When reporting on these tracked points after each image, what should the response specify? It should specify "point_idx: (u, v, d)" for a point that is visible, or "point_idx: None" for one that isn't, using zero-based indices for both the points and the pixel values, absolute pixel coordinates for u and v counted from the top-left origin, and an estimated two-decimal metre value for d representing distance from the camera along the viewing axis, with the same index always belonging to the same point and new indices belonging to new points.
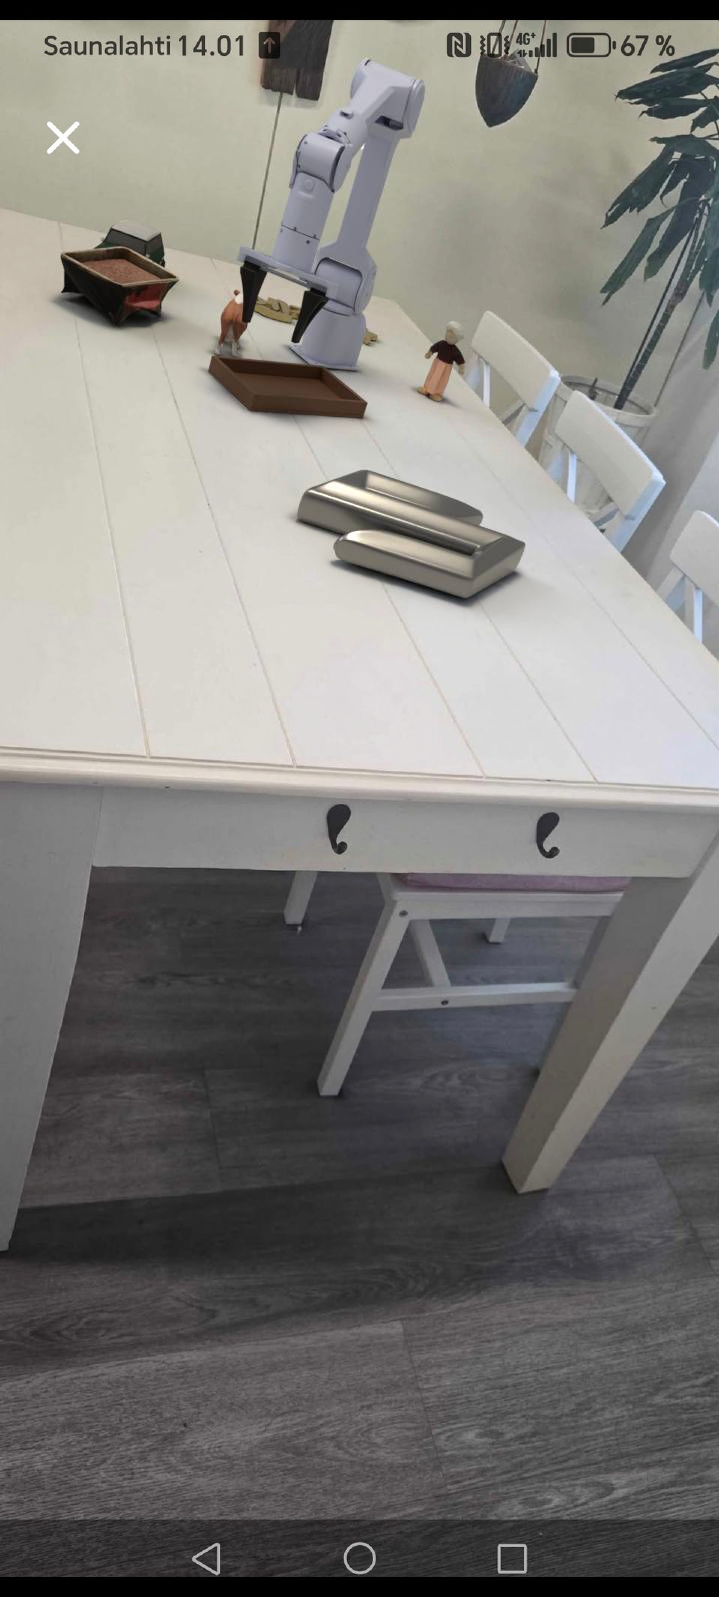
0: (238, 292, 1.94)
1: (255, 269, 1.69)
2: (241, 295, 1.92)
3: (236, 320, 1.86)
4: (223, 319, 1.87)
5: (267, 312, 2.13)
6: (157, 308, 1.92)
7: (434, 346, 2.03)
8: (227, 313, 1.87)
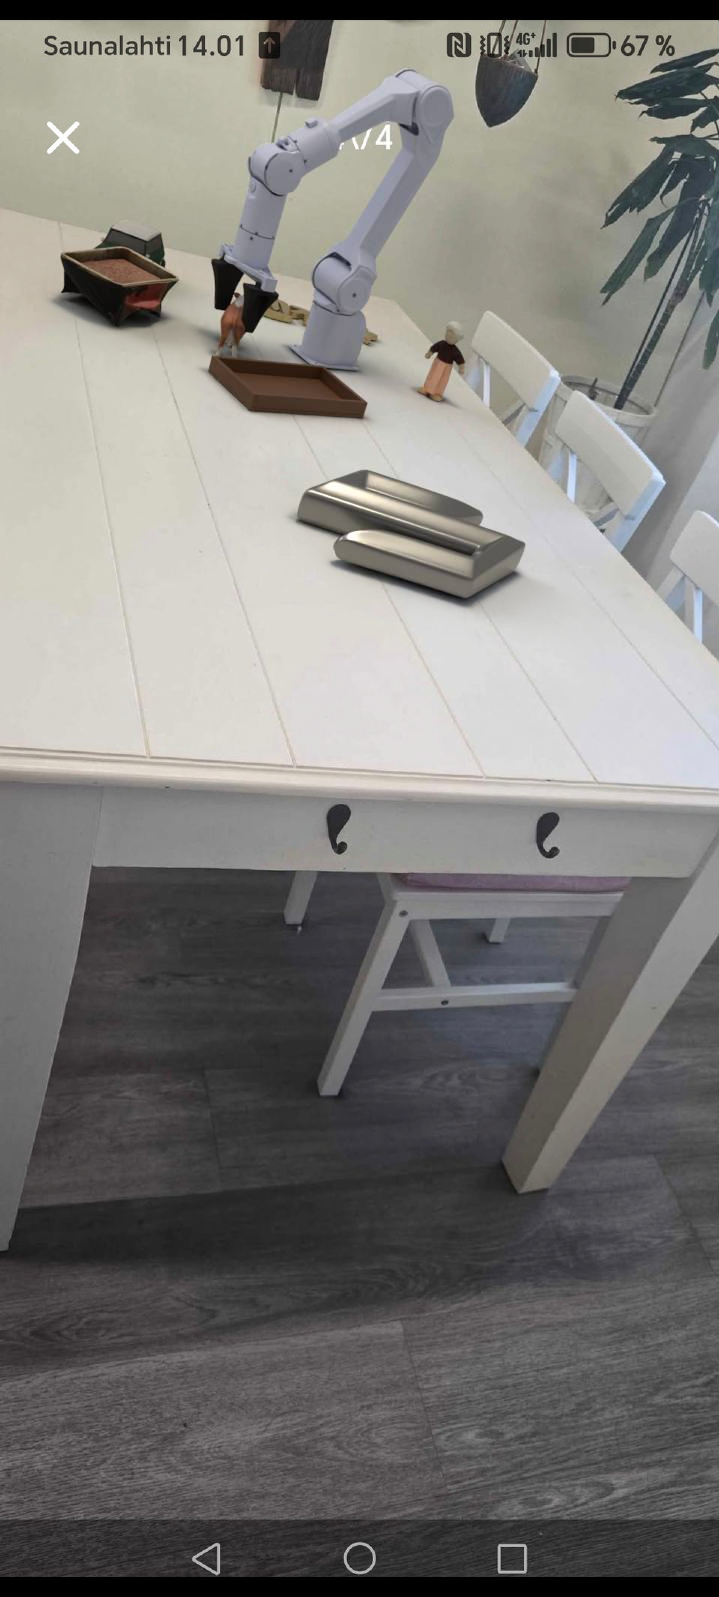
0: (238, 294, 1.95)
1: (225, 262, 1.90)
2: (241, 298, 1.92)
3: (236, 324, 1.86)
4: (223, 323, 1.87)
5: (267, 312, 2.13)
6: (157, 308, 1.92)
7: (434, 346, 2.03)
8: (227, 317, 1.87)
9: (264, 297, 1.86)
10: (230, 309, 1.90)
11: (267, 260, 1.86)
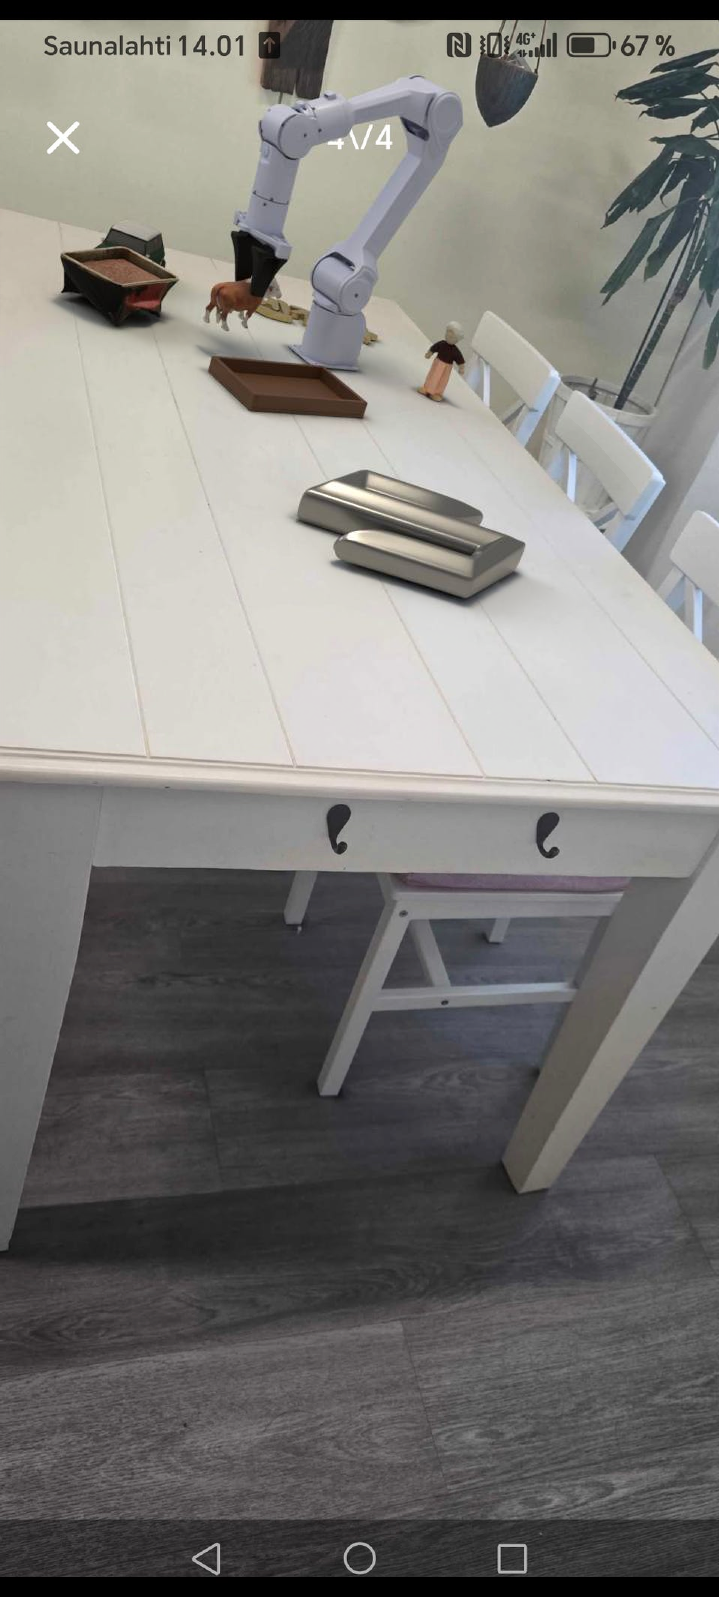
0: None
1: (245, 234, 1.85)
2: None
3: (219, 290, 1.83)
4: None
5: (267, 312, 2.13)
6: (157, 308, 1.91)
7: (434, 346, 2.03)
8: (219, 283, 1.84)
9: (273, 260, 1.84)
10: (236, 281, 1.87)
11: (281, 226, 1.82)
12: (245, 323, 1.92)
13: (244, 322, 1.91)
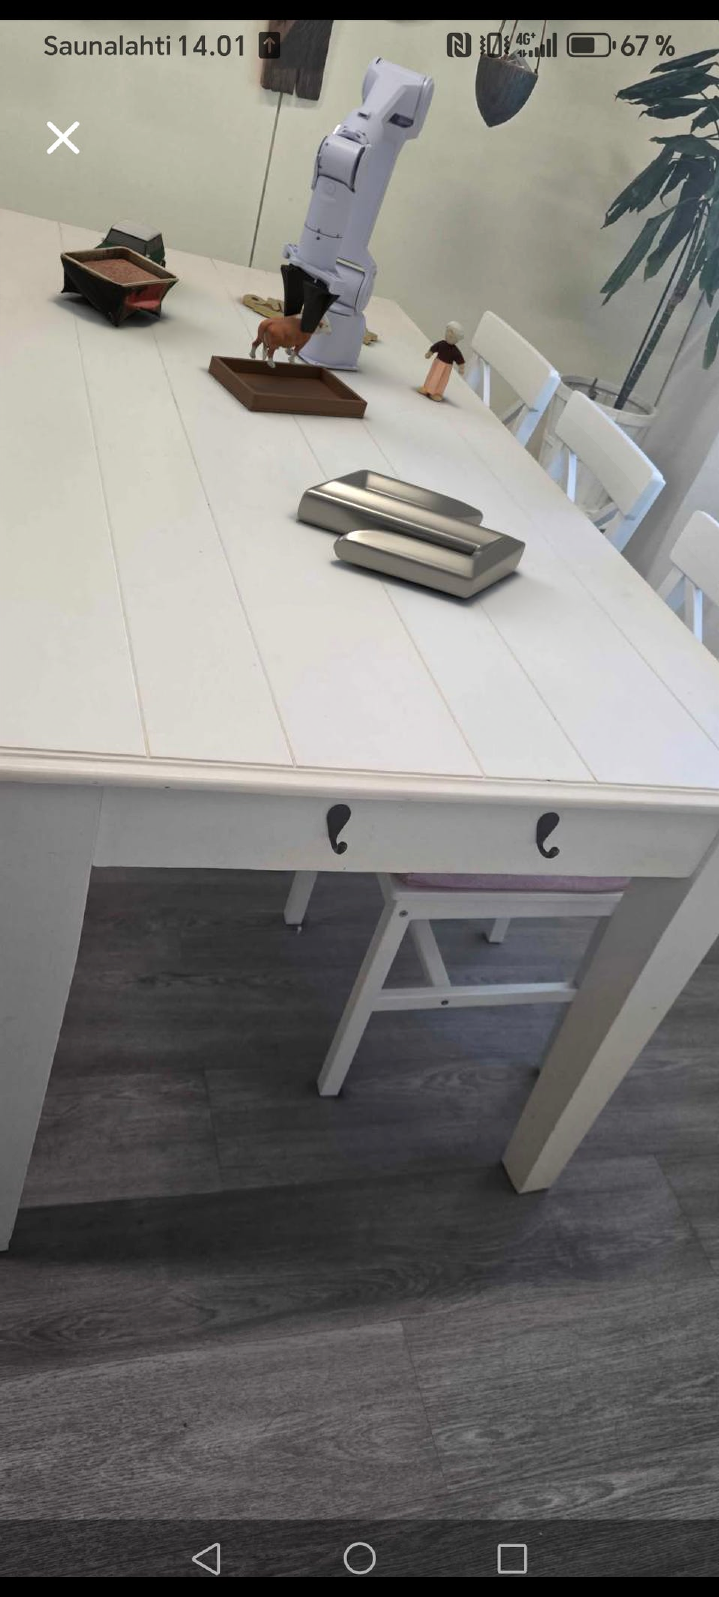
0: None
1: (295, 268, 1.78)
2: None
3: (266, 327, 1.75)
4: None
5: (267, 312, 2.13)
6: (157, 308, 1.91)
7: (434, 346, 2.03)
8: (267, 319, 1.77)
9: (325, 295, 1.76)
10: None
11: (334, 260, 1.74)
12: (292, 359, 1.84)
13: (291, 358, 1.84)
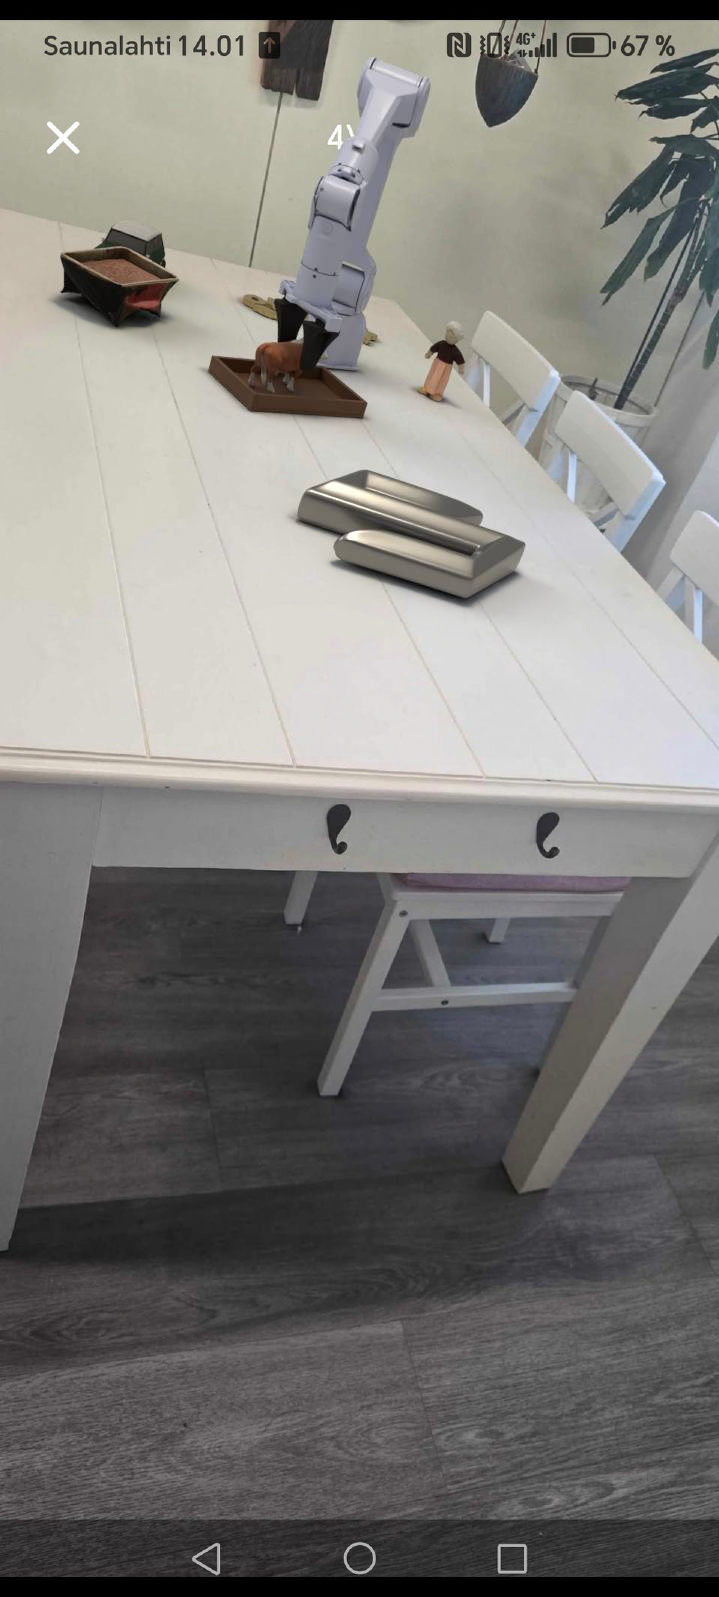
0: None
1: (289, 302, 1.80)
2: None
3: (264, 349, 1.77)
4: None
5: (267, 312, 2.13)
6: (157, 308, 1.91)
7: (434, 346, 2.03)
8: None
9: (324, 334, 1.77)
10: (281, 342, 1.81)
11: (330, 298, 1.76)
12: (291, 386, 1.85)
13: (290, 385, 1.85)
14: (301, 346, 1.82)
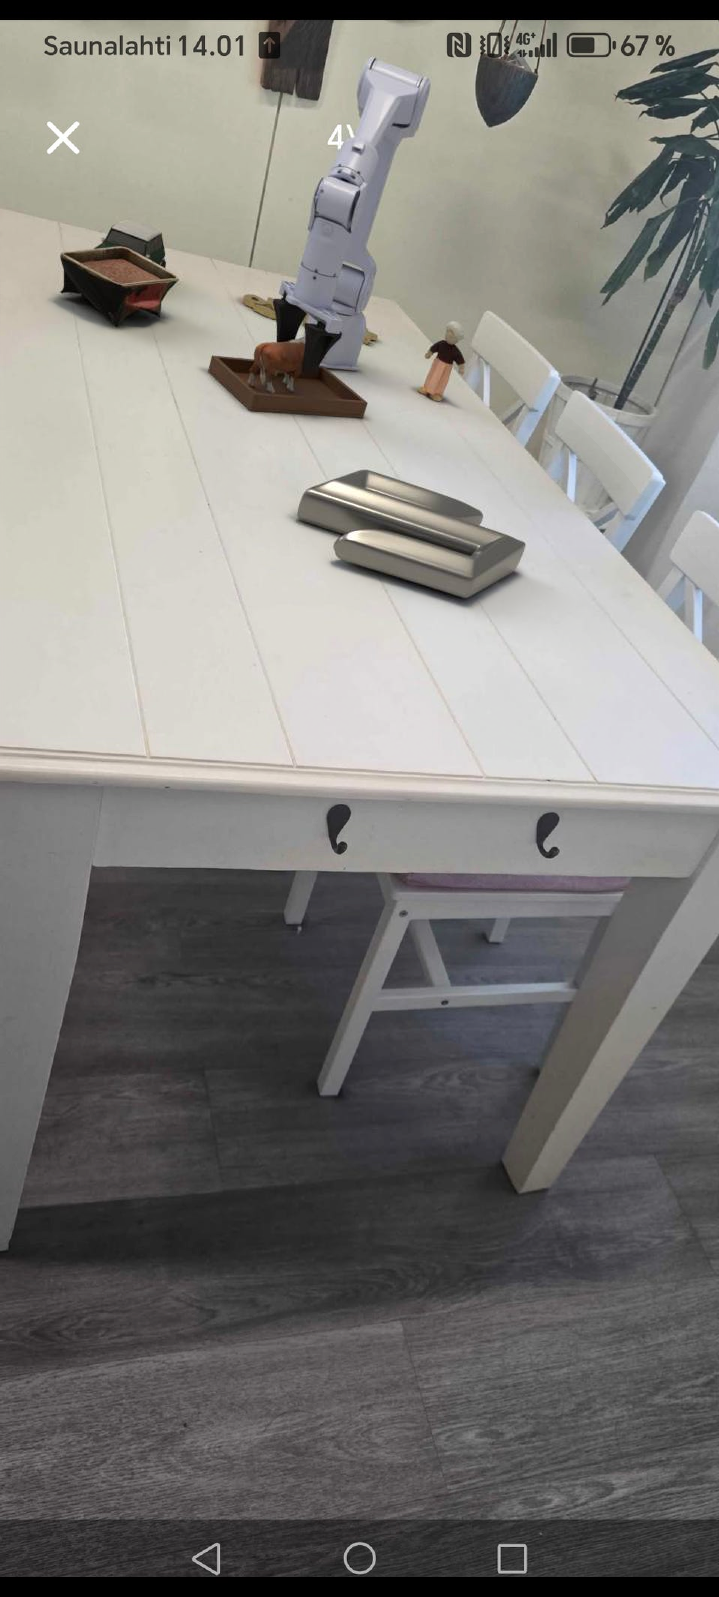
0: None
1: (287, 302, 1.80)
2: (303, 338, 1.83)
3: (262, 349, 1.77)
4: None
5: (267, 312, 2.13)
6: (157, 308, 1.91)
7: (434, 346, 2.03)
8: None
9: (326, 337, 1.77)
10: None
11: (331, 299, 1.76)
12: (291, 386, 1.85)
13: (290, 385, 1.85)
14: (299, 345, 1.82)
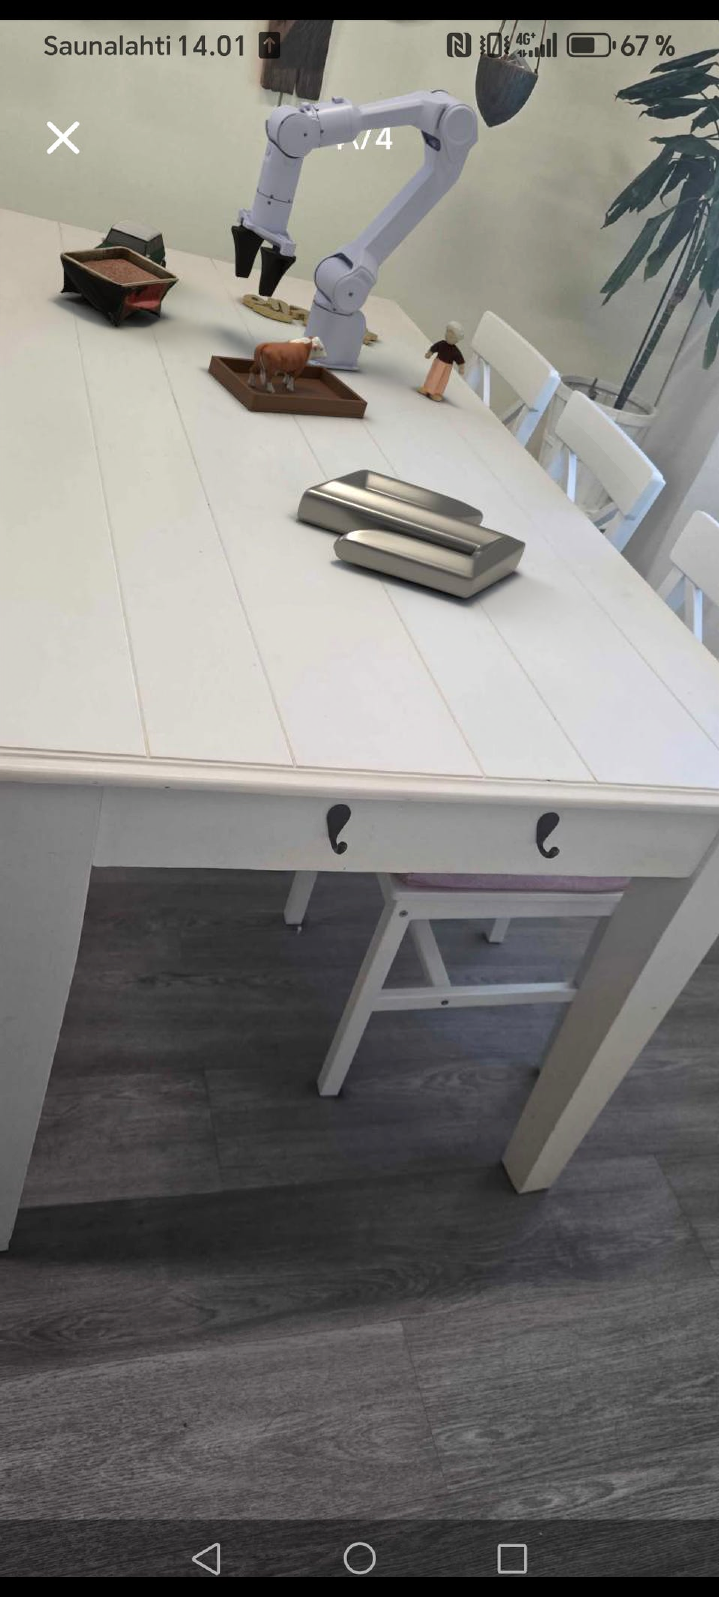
0: (311, 338, 1.85)
1: (245, 229, 1.90)
2: (303, 338, 1.83)
3: (262, 349, 1.77)
4: None
5: (267, 312, 2.13)
6: (157, 308, 1.91)
7: (434, 346, 2.03)
8: None
9: (282, 260, 1.87)
10: None
11: (285, 224, 1.86)
12: (291, 386, 1.85)
13: (290, 385, 1.85)
14: (299, 345, 1.82)
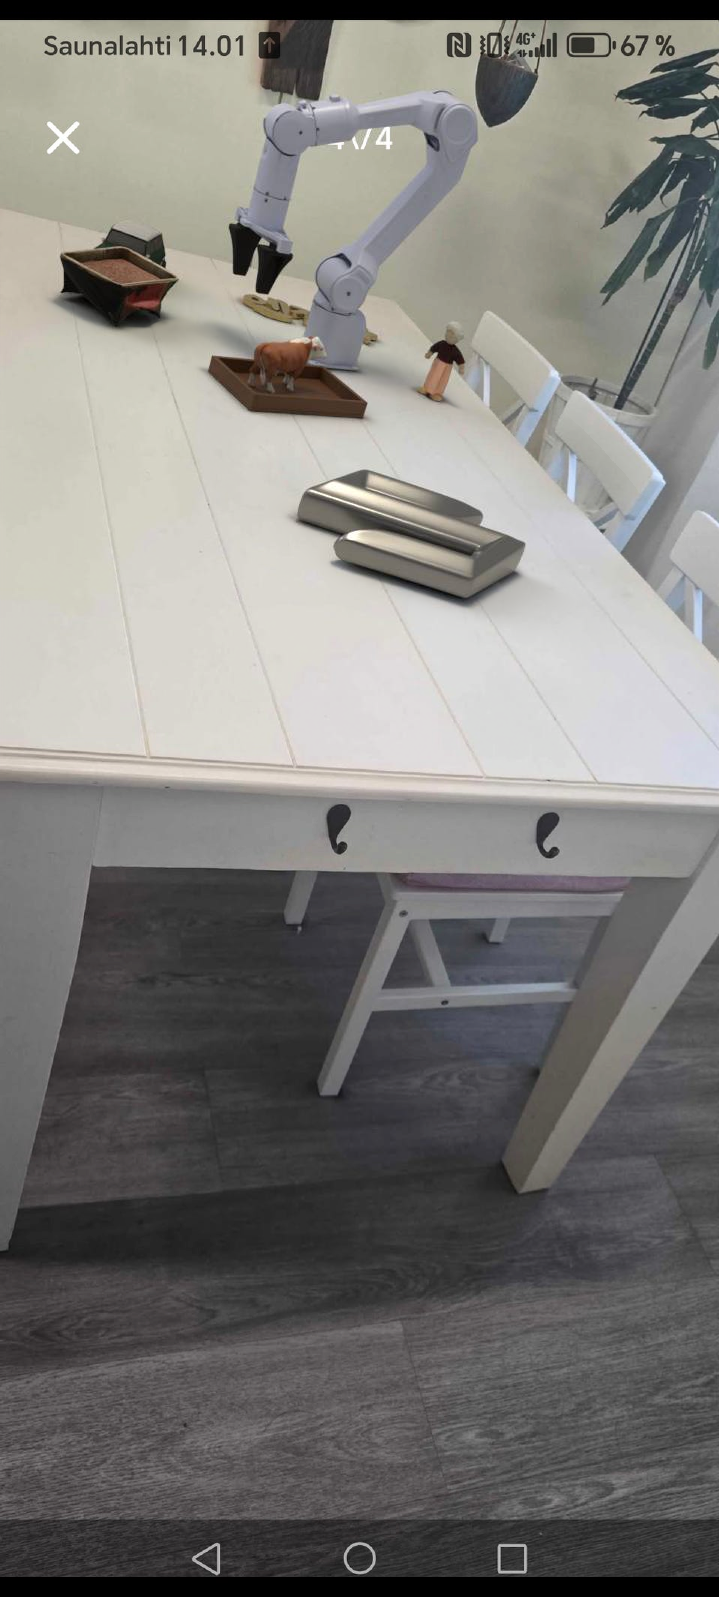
0: (311, 338, 1.85)
1: (242, 226, 1.91)
2: (303, 338, 1.83)
3: (262, 349, 1.77)
4: None
5: (267, 312, 2.13)
6: (157, 308, 1.91)
7: (434, 346, 2.03)
8: None
9: (278, 258, 1.88)
10: None
11: (282, 222, 1.86)
12: (291, 386, 1.85)
13: (290, 385, 1.85)
14: (299, 345, 1.82)
